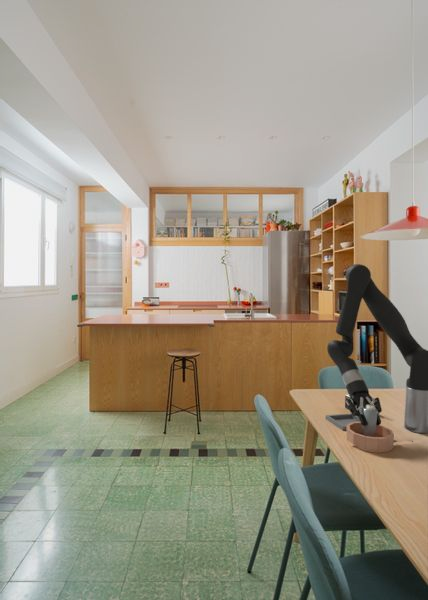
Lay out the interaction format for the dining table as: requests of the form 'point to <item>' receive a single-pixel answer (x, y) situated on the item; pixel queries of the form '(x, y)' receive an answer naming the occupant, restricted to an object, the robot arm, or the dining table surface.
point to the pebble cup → (370, 421)
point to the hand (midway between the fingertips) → (372, 424)
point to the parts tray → (342, 420)
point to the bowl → (370, 438)
